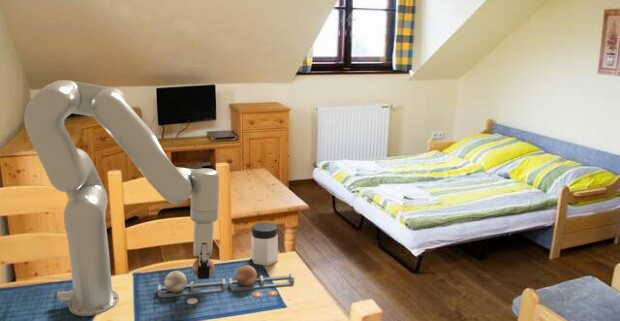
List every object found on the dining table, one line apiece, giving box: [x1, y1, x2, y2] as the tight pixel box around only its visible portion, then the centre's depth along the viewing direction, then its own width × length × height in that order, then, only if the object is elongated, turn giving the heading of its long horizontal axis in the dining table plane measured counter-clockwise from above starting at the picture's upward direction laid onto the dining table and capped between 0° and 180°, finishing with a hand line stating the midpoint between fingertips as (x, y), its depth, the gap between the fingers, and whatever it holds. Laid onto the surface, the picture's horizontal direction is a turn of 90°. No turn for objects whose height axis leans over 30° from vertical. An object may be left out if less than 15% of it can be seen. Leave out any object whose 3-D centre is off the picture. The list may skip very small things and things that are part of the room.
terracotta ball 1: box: [192, 257, 215, 278], centre depth 145 cm, size 6×6×6 cm
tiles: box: [186, 290, 279, 305], centre depth 142 cm, size 29×4×1 cm, turn 103°
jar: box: [250, 221, 279, 266], centre depth 165 cm, size 9×8×12 cm
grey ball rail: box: [157, 272, 295, 298], centre depth 148 cm, size 39×5×2 cm, turn 103°
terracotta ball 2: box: [235, 264, 258, 286], centre depth 148 cm, size 6×6×6 cm
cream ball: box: [164, 270, 187, 293], centre depth 144 cm, size 6×6×6 cm
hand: (203, 272), depth 145 cm, fingers closed on terracotta ball 1, 5 cm apart
